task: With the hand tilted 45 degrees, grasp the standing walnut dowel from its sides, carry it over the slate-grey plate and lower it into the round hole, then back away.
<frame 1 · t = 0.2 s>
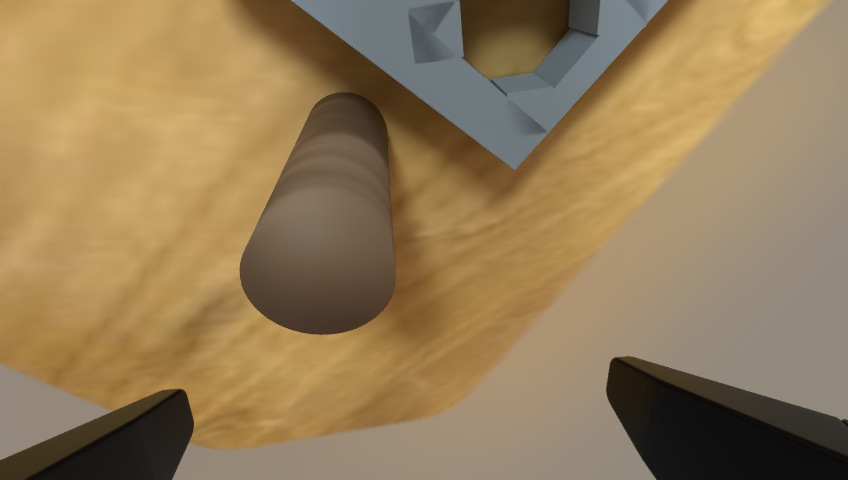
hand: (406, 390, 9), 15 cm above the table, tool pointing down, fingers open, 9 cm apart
peg: (347, 132, 21), on the table
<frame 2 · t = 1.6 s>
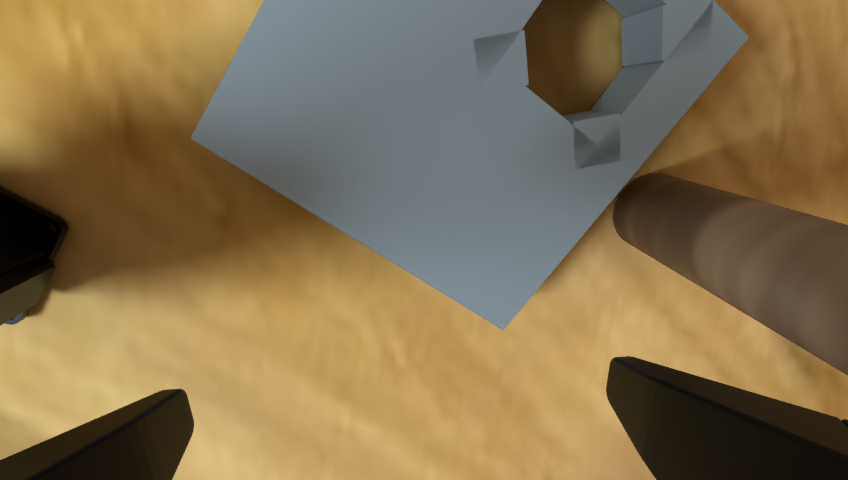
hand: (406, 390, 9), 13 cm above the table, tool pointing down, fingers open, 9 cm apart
peg: (649, 210, 22), on the table
plate: (461, 88, 19), on the table
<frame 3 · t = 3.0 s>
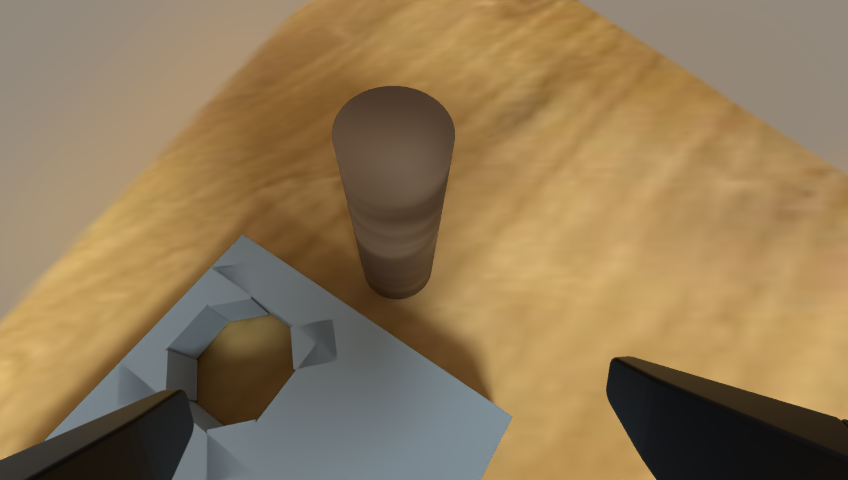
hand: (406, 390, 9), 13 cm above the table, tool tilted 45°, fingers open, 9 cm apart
peg: (397, 266, 24), on the table
plate: (271, 472, 19), on the table
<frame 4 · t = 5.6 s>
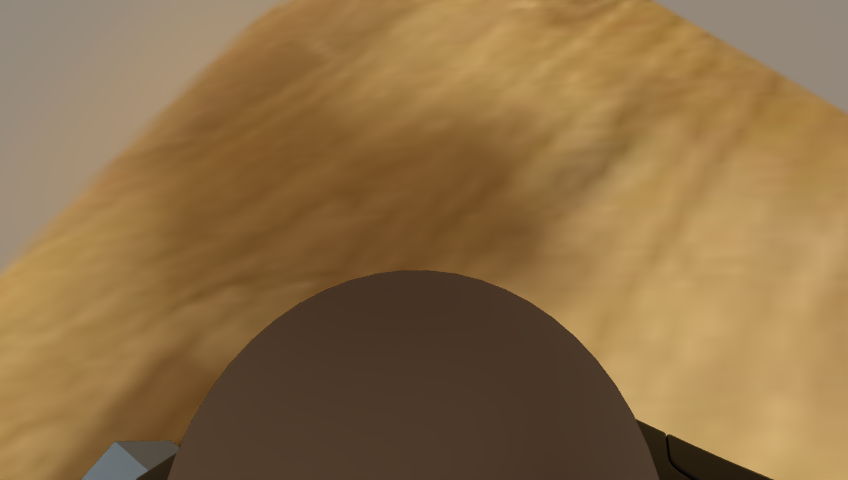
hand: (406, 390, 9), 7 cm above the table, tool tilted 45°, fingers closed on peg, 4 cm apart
peg: (408, 454, 14), on the table, touching gripper
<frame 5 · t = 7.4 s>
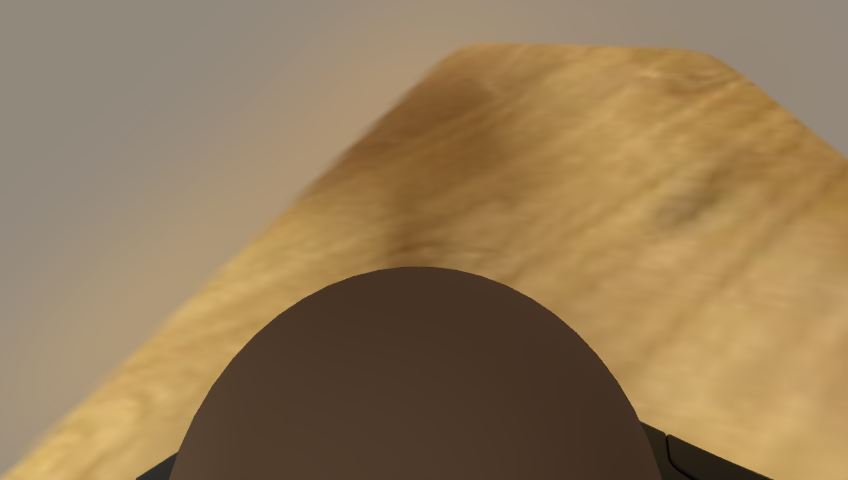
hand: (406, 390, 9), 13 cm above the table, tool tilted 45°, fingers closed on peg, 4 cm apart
peg: (409, 453, 14), point 7 cm above the table, touching gripper
when the fingers open (8 cm above the table, at t = 9.2 s): peg drops 1 cm, resting in plate.
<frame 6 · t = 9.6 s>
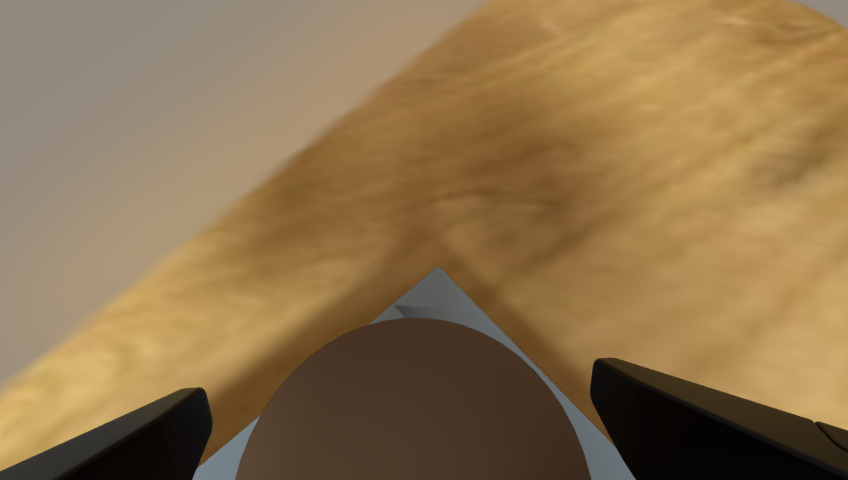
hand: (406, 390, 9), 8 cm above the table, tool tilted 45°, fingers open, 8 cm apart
peg: (407, 454, 15), resting in plate
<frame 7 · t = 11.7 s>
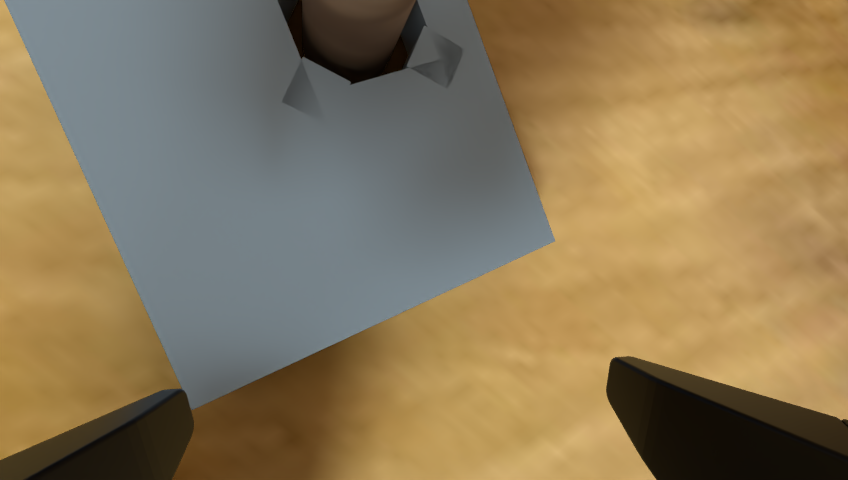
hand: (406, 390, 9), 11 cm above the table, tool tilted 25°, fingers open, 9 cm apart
peg: (346, 48, 19), resting in plate
plate: (318, 146, 19), on the table
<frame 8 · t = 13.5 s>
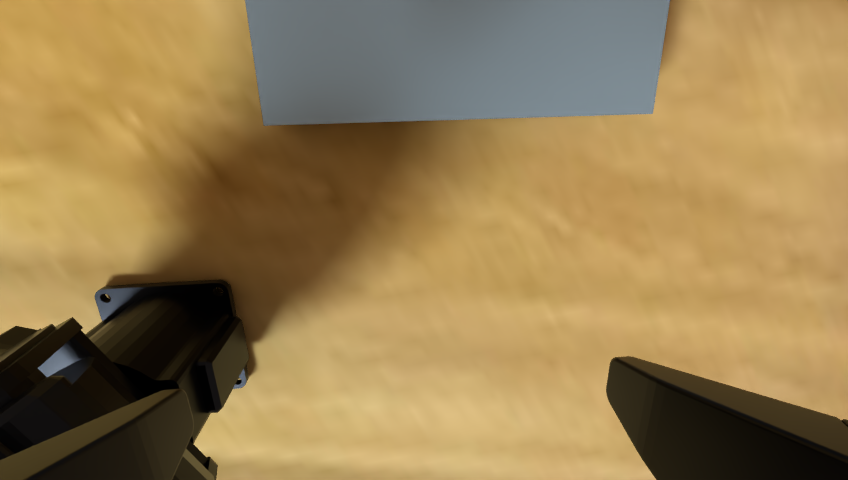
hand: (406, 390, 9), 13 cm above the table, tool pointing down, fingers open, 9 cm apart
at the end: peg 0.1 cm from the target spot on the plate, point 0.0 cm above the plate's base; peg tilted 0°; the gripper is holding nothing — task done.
